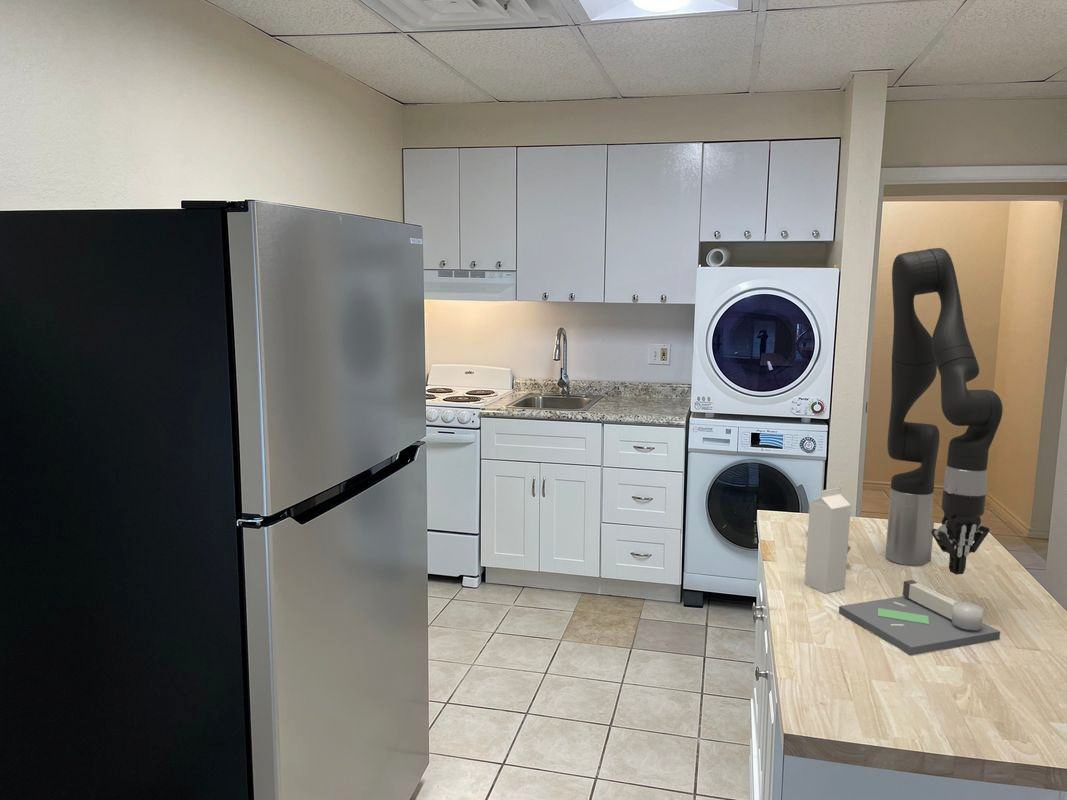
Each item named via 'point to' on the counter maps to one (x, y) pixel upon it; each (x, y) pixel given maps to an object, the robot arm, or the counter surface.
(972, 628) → the tuning lever
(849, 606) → the board
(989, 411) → the robot arm
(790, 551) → the counter surface
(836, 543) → the milk
